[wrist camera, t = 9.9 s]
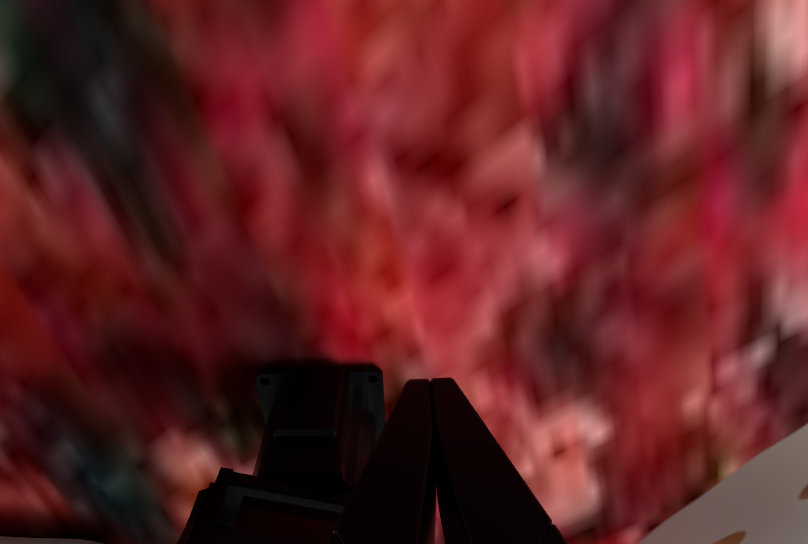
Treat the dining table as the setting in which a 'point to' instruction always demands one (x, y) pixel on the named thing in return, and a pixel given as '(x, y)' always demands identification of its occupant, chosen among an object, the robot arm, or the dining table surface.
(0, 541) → the salad plate
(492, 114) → the dining table surface
